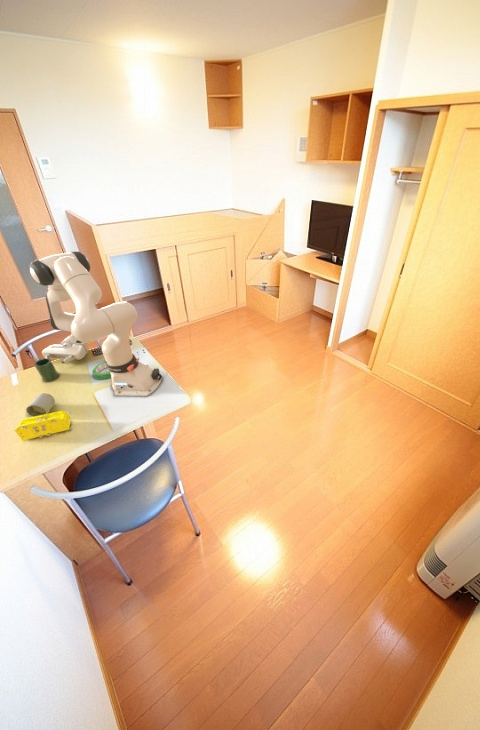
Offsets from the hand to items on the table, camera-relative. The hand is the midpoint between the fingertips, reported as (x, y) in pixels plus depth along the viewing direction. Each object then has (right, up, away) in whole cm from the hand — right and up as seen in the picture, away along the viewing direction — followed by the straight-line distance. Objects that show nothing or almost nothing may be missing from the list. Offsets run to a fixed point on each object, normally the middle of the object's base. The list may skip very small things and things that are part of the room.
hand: (54, 362), depth 144 cm
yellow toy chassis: (+17, -27, -27) cm, 42 cm away
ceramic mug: (+8, -21, -19) cm, 29 cm away
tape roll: (+24, -5, +2) cm, 25 cm away
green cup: (-1, -8, -1) cm, 8 cm away
